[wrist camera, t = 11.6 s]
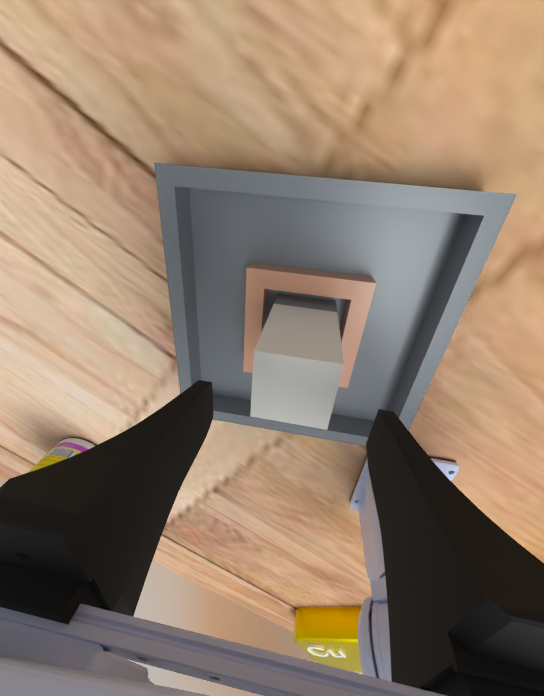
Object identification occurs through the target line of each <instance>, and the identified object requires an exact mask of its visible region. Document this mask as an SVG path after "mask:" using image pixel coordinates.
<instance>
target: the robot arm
mask: <svg viewBox="0 0 544 696" xmlns="http://www.w3.org/2000/svg"><path fill="white" fill-rule="evenodd" d="M212 419H213V391H212V382H209V381H202V380H198V381H197V382H196V383H194V384H193V385H191V386H190V387H189V388H188V389H186V390H185V391H184V392H182V393H181V394H180V395H178V396H177V397H176V398H174V399H173V400H172V401H170V402H169V403H168V404H166V405H165V406H164V407H162V408H161V409H159V410H158V411H156V412H155V413H153V414H152V415H150V416H149V417H147V418H146V419H144V420H143V421H141V422H140V423H138V424H136V425H135V426H133V427H131V428H129V429H128V430H126V431H124V432H122V433H120V434H119V435H117V436H115V437H113V438H111V439H109V440H107V441H105V442H103V443H101V444H98V445H96V446H94V447H92V448H90V449H88V450H86V451H84V452H81V453H79V454H77V455H74V456H72V457H69V458H67V459H64V460H62V461H59V462H57V463H54V464H52V465H49V466H46V467H43V468H40V469H37V470H35V471H32V472H29V473H26V474H23V475H20V476H17V477H14V478H11V479H9V480H8V481H7V482H6V483H5V484H3V485H2V486H1V487H0V696H208V695H204V694H199V693H194V692H189V691H184V690H179V689H175V688H169V687H164V686H159V685H155V684H153V683H152V682H151V681H150V680H149V678H148V677H147V676H148V670H147V668H145V667H143V666H141V665H138V664H136V663H134V662H131V661H129V660H133V661H136V662H140V663H144V664H148V665H151V666H155V667H159V668H162V669H166V670H170V671H174V672H177V673H181V674H185V675H188V676H193V677H196V678H200V679H203V680H207V681H211V682H215V683H219V684H222V685H226V686H230V687H233V688H237V689H241V690H245V691H248V692H252V693H256V694H260V695H264V696H544V563H542V562H541V561H540V560H539V559H537V558H536V557H535V556H534V555H532V554H531V553H530V552H529V551H527V550H526V549H525V548H524V547H522V546H521V545H520V544H519V543H517V542H516V541H515V540H514V539H513V538H511V537H510V536H509V535H508V534H507V533H505V532H504V531H503V530H502V529H501V528H500V527H499V526H497V525H496V524H495V523H494V522H493V521H492V520H491V519H489V518H488V517H487V516H486V515H485V514H484V513H483V512H482V511H481V510H479V509H478V508H477V507H476V506H475V505H474V504H473V503H472V502H471V501H470V500H469V499H468V498H467V497H466V496H465V495H464V494H463V493H462V492H461V491H460V490H459V489H458V488H457V487H456V486H455V485H454V484H453V483H452V482H451V481H452V480H453V478H454V477H455V475H456V474H457V472H458V470H459V466H458V464H457V463H455V462H450V461H445V460H439V459H433V458H430V457H429V456H428V455H427V454H426V452H425V451H424V450H423V449H422V448H421V446H420V445H419V444H418V443H417V441H416V440H415V439H414V437H413V436H412V435H411V434H410V432H409V431H408V430H407V428H406V427H405V426H404V424H403V423H402V422H401V420H400V419H399V418H398V417H397V415H396V414H395V413H394V411H387V410H381V409H378V412H377V415H376V417H375V420H374V423H373V426H372V428H371V431H370V434H369V437H368V439H367V442H366V447H367V459H366V461H365V464H364V467H363V469H362V472H361V475H360V477H359V480H358V483H357V485H356V488H355V490H354V493H353V496H352V498H351V501H350V508H352V509H355V510H359V514H360V523H361V531H362V540H363V548H364V557H365V565H366V571H367V574H368V577H369V580H370V582H371V591H372V597H367V598H366V599H365V600H364V602H363V604H362V608H361V611H360V613H359V618H358V647H359V656H360V662H361V668H362V673H363V674H359V673H355V672H351V671H347V670H343V669H339V668H335V667H331V666H327V665H323V664H319V663H314V662H311V661H307V660H303V659H299V658H295V657H291V656H287V655H283V654H279V653H275V652H271V651H267V650H263V649H259V648H255V647H252V646H248V645H243V644H240V643H236V642H232V641H228V640H224V639H220V638H215V637H212V636H208V635H204V634H200V633H196V632H192V631H188V630H184V629H180V628H176V627H171V626H168V625H164V624H160V623H156V622H152V621H148V620H144V619H140V618H136V617H133V615H134V612H135V609H136V606H137V603H138V600H139V597H140V594H141V591H142V588H143V585H144V582H145V579H146V576H147V573H148V571H149V568H150V565H151V562H152V559H153V557H154V554H155V551H156V548H157V545H158V543H159V540H160V537H161V535H162V532H163V529H164V527H165V524H166V522H167V519H168V516H169V514H170V511H171V509H172V506H173V504H174V501H175V499H176V496H177V494H178V491H179V489H180V487H181V485H182V483H183V481H184V479H185V477H186V475H187V473H188V471H189V469H190V467H191V465H192V463H193V461H194V460H195V458H196V456H197V454H198V452H199V450H200V448H201V446H202V444H203V442H204V440H205V438H206V436H207V433H208V430H209V428H210V425H211V422H212ZM124 658H125V659H124ZM127 659H129V660H127Z"/></svg>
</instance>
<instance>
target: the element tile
mask: <svg viewBox="0 0 544 696" xmlns="http://www.w3.org/2000/svg"><path fill="white" fill-rule="evenodd" d="M361 608H362V607H300V608H297V609H296V614H295V630H294V641H295V643H296V644H297V645H298V646H299V647H300V648H301V649H302V650H303V651H305V652H306V653H307V654H308V655H309V656H310V657H311V658H312V659H313V660H314V661H315V662H316V663H319V664H323V665H327V666H331V667H335V668H339V669H343V670H347V671H351V672H355V673H359V674H363V673H362V668H361V662H360V656H359V647H358V618H359V613H360V611H361Z"/></svg>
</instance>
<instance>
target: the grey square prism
mask: <svg viewBox="0 0 544 696" xmlns="http://www.w3.org/2000/svg"><path fill="white" fill-rule="evenodd" d="M343 367H344V360H343V353H342V345H341V337H340V329H339V322H338V314H337V306H336V301H331V300H323V299H316V298H308V297H300V296H293V295H285V294H278V295H277V297H276V300H275V302H274V304H273V307H272V309H271V311H270V314H269V316H268V319H267V321H266V323H265V326H264V328H263V330H262V333H261V335H260V338H259V340H258V342H257V345H256V347H255V349H254V358H253V375H252V393H251V410H250V417H256V418H262V419H267V420H273V421H279V422H285V423H290V424H296V425H302V426H308V427H313V428H319V429H325V430H327V429H328V425H329V421H330V417H331V413H332V409H333V406H334V402H335V398H336V394H337V390H338V386H339V382H340V378H341V374H342V370H343Z"/></svg>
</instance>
